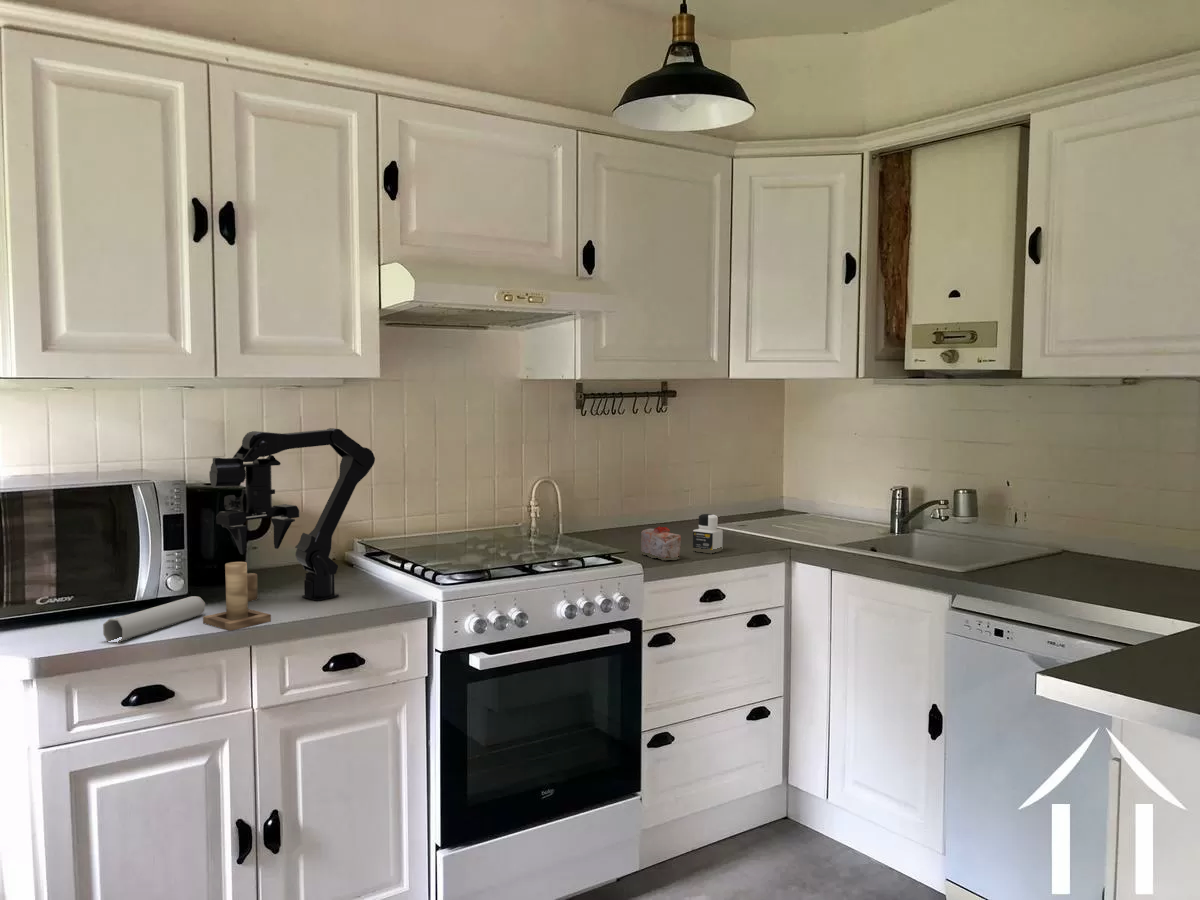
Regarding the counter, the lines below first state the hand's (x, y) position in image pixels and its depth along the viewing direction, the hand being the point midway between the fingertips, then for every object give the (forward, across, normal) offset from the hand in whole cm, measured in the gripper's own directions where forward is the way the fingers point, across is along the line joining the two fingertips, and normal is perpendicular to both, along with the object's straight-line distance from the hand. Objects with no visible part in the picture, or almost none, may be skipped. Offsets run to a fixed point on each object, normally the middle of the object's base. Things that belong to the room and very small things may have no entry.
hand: (259, 551), depth 216 cm
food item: (+13, -110, +43) cm, 119 cm away
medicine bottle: (+13, -129, +49) cm, 139 cm away
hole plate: (+13, +12, +9) cm, 20 cm away
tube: (+14, +24, 0) cm, 28 cm away
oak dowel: (+13, +12, +9) cm, 20 cm away
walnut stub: (+13, -2, -8) cm, 15 cm away
